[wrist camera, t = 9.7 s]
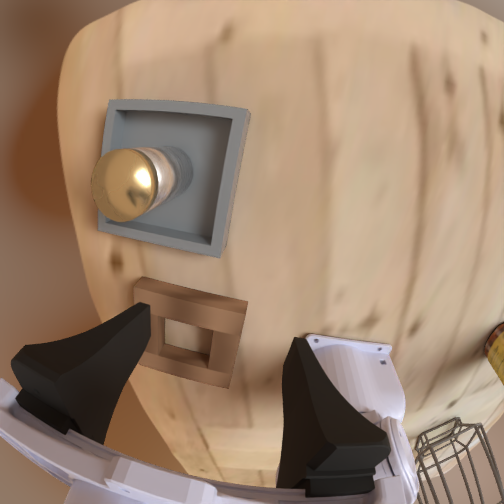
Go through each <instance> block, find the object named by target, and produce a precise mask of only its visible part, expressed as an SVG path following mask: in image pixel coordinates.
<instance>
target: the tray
mask: <svg viewBox="0 0 504 504" xmlns="http://www.w3.org/2000/svg"><path fill="white" fill-rule="evenodd" d="M250 116H251V113H250V112H249V110H248V109H244V108H237V107H230V106H223V105H215V104H206V103H196V102H184V101H169V100H141V99H120V100H109V103H108V109H107V115H106V121H105V128H104V135H103V143H102V152H101V157H102V156H103V155H105V154H106V153H107V152H109V151H112V150H115V149H125V148H141V147H163V146H172V147H177V148H179V149H181V150H183V151H184V152H185V153H186V154H187V155H188V156H189V158H190V160H191V162H192V165H193V179H192V182H191V184H190V186H189V188H188V189H187V190H186V191H185V192H184V193H183V194H181V195H179V196H177V197H175V198H173V199H171V200H169V201H167V202H165V203H163V204H162V205H160V206H158V207H156V208H154V209H152V210H150V211H148V212H146V213H144V214H142V215H140V216H139V217H137V218H135V219H133V220H131V221H127V222H117V221H113V220H111V219H109V218H107V217H106V216H105V215H104V214H103V213H102V212H101V211H100V210H99V209H98V231H102V232H106V233H110V234H115V235H119V236H123V237H127V238H132V239H136V240H140V241H145V242H149V243H154V244H158V245H162V246H167V247H171V248H176V249H180V250H185V251H189V252H194V253H198V254H203V255H207V256H212V257H216V258H220V257H221V255H222V253H223V251H224V249H225V247H226V244H227V238H228V232H229V226H230V220H231V215H232V209H233V204H234V198H235V193H236V187H237V182H238V177H239V171H240V166H241V161H242V156H243V151H244V145H245V140H246V135H247V130H248V125H249V121H250Z"/></svg>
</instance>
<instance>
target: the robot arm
mask: <svg viewBox="0 0 504 504" xmlns="http://www.w3.org/2000/svg"><path fill="white" fill-rule="evenodd" d="M150 337H151V310H150V305H149V304H145V303H142V302H139V303H137V304H135V305H133V306H132V307H130V308H129V309H127V310H125V311H124V312H122V313H120V314H119V315H117V316H115V317H114V318H112V319H110V320H108V321H106V322H104V323H103V324H101V325H99V326H97V327H95V328H93V329H91V330H88V331H86V332H84V333H81V334H78V335H75V336H72V337H69V338H65V339H62V340H58V341H54V342H48V343H42V344H32V345H25V346H24V347H23V348H22V349H21V350H20V351H19V352H18V353H17V354H16V355H15V357H14V358H13V359H12V360H11V367H12V370H13V372H14V374H15V376H16V378H17V380H18V381H19V383H20V385H21V387H22V388H23V389H22V390H21V391H20V392H19V391H18V390H17V389H16V388H15V387H14V386H12V385H11V384H9V383H8V382H7V381H6V380H4V379H3V378H0V436H1V437H2V438H3V439H5V440H6V441H7V442H8V443H10V444H11V445H12V446H13V447H14V448H15V449H17V450H18V451H19V452H20V453H22V454H23V455H24V456H26V457H27V458H28V459H30V460H31V461H32V462H34V463H35V464H36V465H38V466H39V467H41V468H42V469H43V470H45V471H46V472H48V473H49V474H51V475H52V476H54V477H56V478H57V479H58V480H60V481H61V482H63V483H65V484H66V485H68V486H70V487H71V488H70V490H69V492H68V495H67V497H66V499H65V502H64V504H413V503H414V501H415V500H416V498H417V493H418V491H419V480H418V476H417V473H416V466H415V461H414V457H413V453H412V450H411V447H410V444H409V441H408V438H407V436H406V433H405V431H404V429H403V427H402V425H401V422H402V420H403V417H404V414H405V394H404V391H403V388H402V386H401V383H400V381H399V378H398V376H397V373H396V371H395V368H394V366H393V363H392V361H391V359H390V356H389V353H390V352H391V350H392V347H391V345H389V344H382V343H373V342H365V341H357V340H349V339H342V338H335V337H328V336H322V335H316V334H309V335H307V336H306V338H305V339H304V338H298V337H294V339H293V342H292V344H291V347H290V350H289V352H288V355H287V357H286V360H285V362H284V365H283V375H282V395H283V415H284V428H283V440H282V450H281V459H280V463H279V466H278V469H277V472H276V488H267V487H256V486H248V485H240V484H233V483H227V482H221V481H215V480H210V479H205V478H201V477H196V476H192V475H188V474H184V473H180V472H176V471H173V470H169V469H165V468H162V467H159V466H156V465H153V464H150V463H147V462H144V461H141V460H138V459H135V458H133V457H130V456H127V455H125V454H122V453H120V452H118V451H115V450H113V449H110V448H108V447H106V446H104V445H103V444H104V441H105V437H106V433H107V430H108V427H109V423H110V420H111V418H112V415H113V412H114V409H115V407H116V404H117V401H118V399H119V396H120V394H121V392H122V389H123V387H124V385H125V383H126V381H127V380H128V378H129V377H130V375H131V373H132V371H133V370H134V368H135V366H136V365H137V363H138V361H139V360H140V358H141V356H142V355H143V353H144V351H145V349H146V347H147V344H148V342H149V339H150ZM315 339H318V340H316V341H315ZM379 347H380V348H379ZM378 348H379V349H378Z"/></svg>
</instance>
